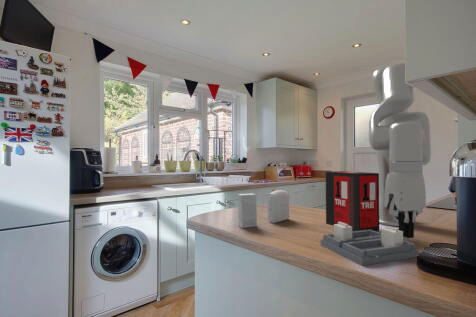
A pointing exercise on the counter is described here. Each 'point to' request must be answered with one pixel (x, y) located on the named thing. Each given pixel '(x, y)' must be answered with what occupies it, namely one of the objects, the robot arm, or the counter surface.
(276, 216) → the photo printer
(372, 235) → the switch board
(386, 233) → the tab
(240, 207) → the skincare box
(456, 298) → the counter surface
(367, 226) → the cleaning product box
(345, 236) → the tab
